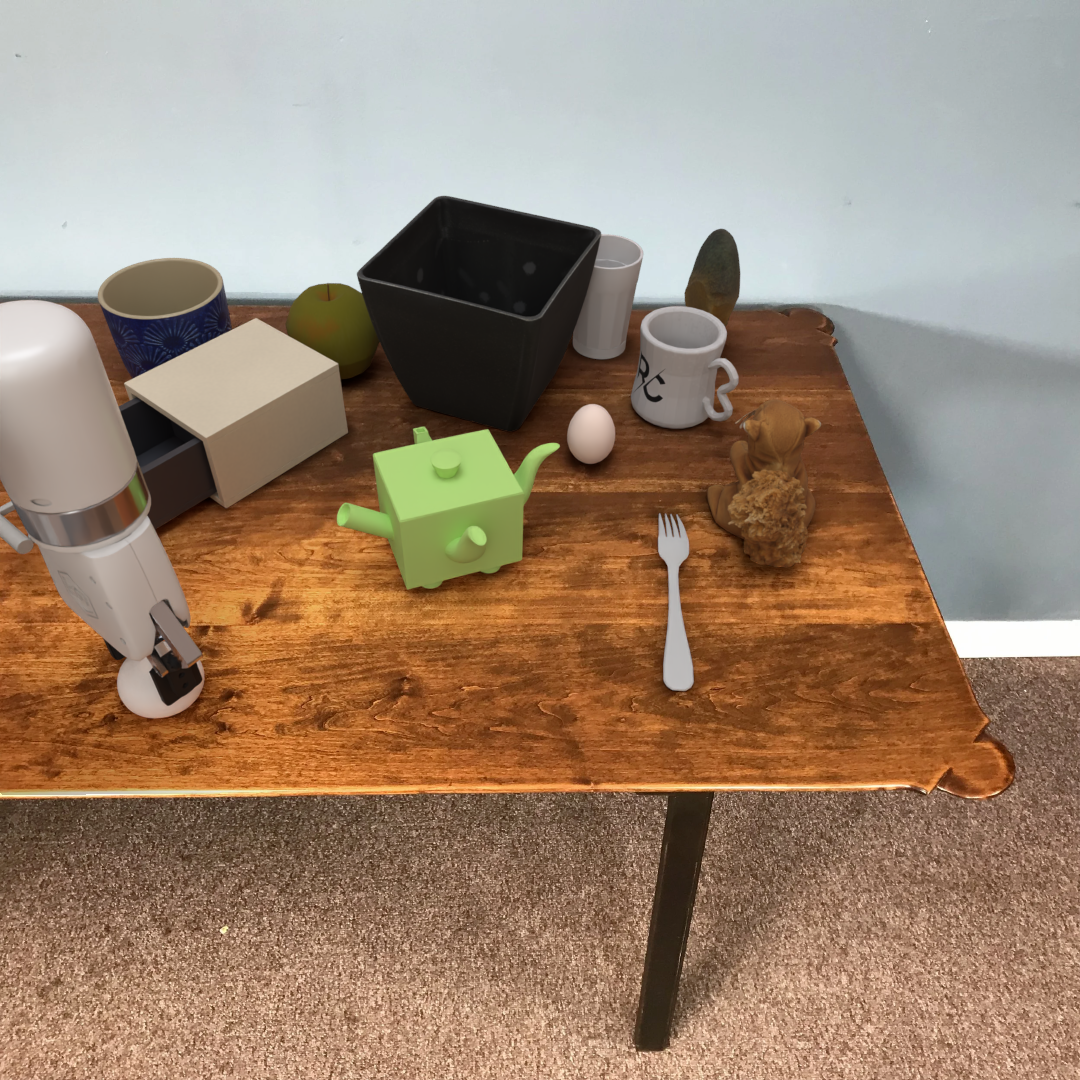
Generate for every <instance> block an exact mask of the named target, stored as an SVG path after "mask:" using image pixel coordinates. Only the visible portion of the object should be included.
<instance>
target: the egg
mask: <svg viewBox="0 0 1080 1080" xmlns="http://www.w3.org/2000/svg"><path fill="white" fill-rule="evenodd" d="M614 423H615V422H614V420H613V418H612V415H611V414H610V413H609V412H608V410H607V409H606V408H605V407H604V406H602V405H599V404H596V403H588V404H586V405H583V406H582V407H580V408H579V409H578V410H577V411H576V412H575V413H574V415H573V416H572V418H571V420H570V421H569V424H568V427H567V433H566V441H567V445H568V449H569V451H570V452H571V454H572V456H573V457H574V458H575V459H576V460H578V461H579V462H581V463H583V464H587V465H594V464H597V463H601V462H602V461H604V459H606V458H608V456H609V454H610V453H611V452H612V450H613V447H614V445H615V441H616V427H615V426H616V425H615V424H614Z"/></svg>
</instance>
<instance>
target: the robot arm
mask: <svg viewBox="0 0 1080 1080" xmlns="http://www.w3.org/2000/svg"><path fill="white" fill-rule="evenodd" d="M103 362H104V361H103V359H102V357H101V354H100V352H99V349H98V346H97V343H96V341H95V339H94V336H93V333H92V332H91V330H90V327H88V325H87V324H86V322H85V321H84V320H83V318H81V316H79V314H77V313H76V312H75V311H73V310H72V309H70V308H68V307H66V306H64V305H62V304H59V303H55V302H52V301H46V300H40V299H20V300H10V301H6V302H1V303H0V482H1V484H2V486H3V488H4V490H5V492H6V494H7V495H8V497H9V499H10V501H11V502H12V504H13V505H14V507H15V511H16V513H17V516H18V517H19V520H20V522H21V523H22V525H23V528H24V529H25V531H26V533H27V536H28V535H29V536H30V538H31V540H32V541H33V542H35V543H34V544H35V545H36V546H38V549H39V551H40V554H41V556H42V558H43V561H44V563H45V566H46V568H47V570H48V573H49V576H50V577H51V579H52V582H53V584H54V586H55V589H56V591H57V592H58V595H59V596H60V598H61V600H62V601H63V602H64V603H65V604H66V605H67V607H68V608H69V609H70V610H71V611H72V612H73V613H74V614H76V615H77V616H78V617H79V618H80V619H81V620H82V621H83V622H84V623H86V624H87V625H88V626H89V627H90V628H91V629H92V630H93V631H94V632H95V633H96V634H98V635H99V636H100V637H101V638H102V641H103V642H104V644H105V646H106V648H107V650H108V652H109V654H110V656H111V658H113V659H114V660H115V661H121V660H123V659H126V658H129V659H131V660H136V661H141V660H143V659H144V658H145V657H147V659H148V661H149V662H150V664H151V666H152V667H153V668H152V669H151V670H150V671H149V673H150V675H151V677H152V680H153V682H154V684H155V686H156V689H157V691H158V693H159V695H160V698H161V700H162V702H163V703H164V704H166V705H167V706H170V705H172V704H173V703H175V702H176V701H177V700H179V699H180V698H181V697H183V696H185V695H187V694H188V693H189V692H191V691H192V690H193V689H194V688H195V687H196V686H198V685H199V684H200V683H201V682H202V676H201V673H200V671H199V668H198V665H197V663H196V662H197V661H199V660H200V661H201V660H202V659H203V658H204V654H203V652H202V651H201V650H200V649H199V647H198V646H197V644H196V643H195V642H194V640H193V639H192V638H191V636H190V634H189V633H188V632H187V630H186V628H187V629H188V628H189V627H190V626H191V619H192V618H191V616H192V615H191V612H190V607H189V605H188V600H187V598H186V596H185V592H184V590H183V588H182V585H181V582H180V580H179V578H178V575H177V573H176V571H175V568H174V565H173V564H172V562H171V560H170V557H169V555H168V554H167V552H166V551H167V550H166V549H165V547H164V545H163V543H162V541H161V538H160V537H159V535H158V533H157V530H156V529H154V527H153V525H152V523H151V521H150V519H149V518H148V516H147V515H148V513H149V511H150V507H151V496H150V493H149V490H148V487H147V485H146V482H145V479H144V477H143V474H142V471H141V468H140V465H139V463H138V460H137V457H136V455H135V452H134V449H133V446H132V443H131V440H130V437H129V435H128V432H127V429H126V426H125V423H124V421H123V418H122V415H121V412H120V410H119V407H118V406H119V405H118V402H117V399H116V396H115V393H114V390H113V388H112V385H111V382H110V379H109V376H108V374H107V371H106V368H105V366H104V363H103ZM162 641H165V642H166V643H167V644H168V646H169V647H170V648H171V650H170V651H169V652H167V653H166V654H164V655H163V656H162V657H160V656H159V654H158V652H157V651H156V649H155V647H154V646H156V645H157V644H159V643H160V642H162Z"/></svg>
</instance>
